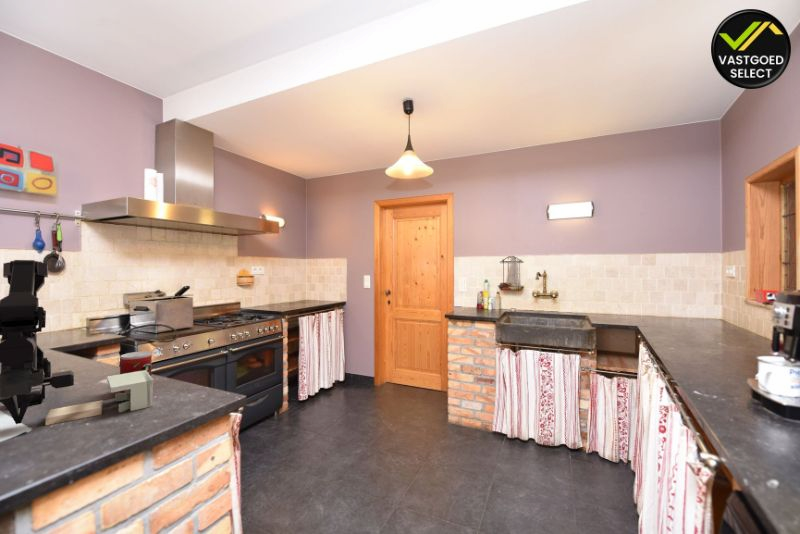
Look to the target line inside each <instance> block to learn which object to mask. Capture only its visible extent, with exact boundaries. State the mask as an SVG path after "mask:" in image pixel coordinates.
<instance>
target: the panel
mask: <svg viewBox="0 0 800 534" xmlns="http://www.w3.org/2000/svg"><path fill="white" fill-rule="evenodd" d="M103 401H104V400H103V399H102V400H96V401H90V402H86V403H85V402H84V403H79V404H74V405H68V406H64V407H63V406H62V407H58V408H51V409H50V410H49V411H48V413H47V415H46V417H45V426H50V424H51V425H56V424H60V422H61V423H65V421H66V422H70V421H75V420H80V419H85V418H89V417H94V416H95V417H96V416H100V415H102V413H103V407H104V403H103ZM55 423H56V424H55Z"/></svg>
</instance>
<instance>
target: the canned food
mask: <svg viewBox="0 0 800 534" xmlns="http://www.w3.org/2000/svg"><path fill="white" fill-rule="evenodd" d="M152 356H153V355H152V352H151V351H146V350H145V351H133V352H127V353H125V354H121V355H120V357H119V374H125V373H131V372H137V371H143V370H146V371H147V372H148V373H149V375H150V376H151V377H152V376H153V375H152V373H153V372H152V371H153V370H152V367H153V366H152V363H153V362H152V361H153V358H152ZM120 393H125V390H122V391H120Z"/></svg>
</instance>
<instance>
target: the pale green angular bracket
mask: <svg viewBox="0 0 800 534" xmlns="http://www.w3.org/2000/svg"><path fill="white" fill-rule="evenodd" d="M106 377H107V378H106V381H107V384H108V387H109V390H110V393H115V394H114V402H120V403H119V404H118V413H123V412H126V411H128V410H130V412H134V411H137V410H141V409H145V408H150V407H153V385H154V379H153V378H152V376H150V375H149V373H148V372H147V371H146V370H143V371H137V372H131V373H125V374H120V373H119V374H114V375H108V376H106ZM122 390H125V393H121V391H122ZM117 392H120V393H117ZM124 400H125V401H124ZM123 401H124V402H123ZM121 402H122V403H121Z"/></svg>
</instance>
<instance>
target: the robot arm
mask: <svg viewBox="0 0 800 534" xmlns="http://www.w3.org/2000/svg"><path fill="white" fill-rule="evenodd" d="M2 265H3V267H2V268H3V269H2V277H3V278H4V279H7V284H8V285H9V289H8V294H7V295H6V296H4V297H3V298H1V299H0V336H1V338H0V403H1V405H4V406H5V407H6V410H7V411H8V412H9V414H10V416H11V418H12V420H13V421H14V423H15V425H18V424H22V422H23V419H24V417H25V414H26V412H27V409H28V407H29V406H32V405H39V404H42V403H43V401H44V400H45V399H46V387H47V386H51V387H52V388H54V389H61V388H67V387H72V386H74V385H75V382H74V381H75V373H74V371H72V370H65V371H59V372H53V373H52V368H51V367H52V363H51V361H50V360H49V359H48V357H45V352H44V350H43V349H41V347H40V346H39V345H38V343H37V341H38V340H37V339H38V336H37V335H38V334H37V333H41V332H42V331H43V329H44V328H46V320H47V311H46V310H45V309H44V307H43V306H39V305H40V304H39V303H40V302H39V298H38V292H39V291H40V290H41V289H42V287H44V285H45V280H46V278H49V265H48V263H45V262H43V261H39V260H35V259H14V260H10V261H9V262H4V263H3V264H2Z"/></svg>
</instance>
